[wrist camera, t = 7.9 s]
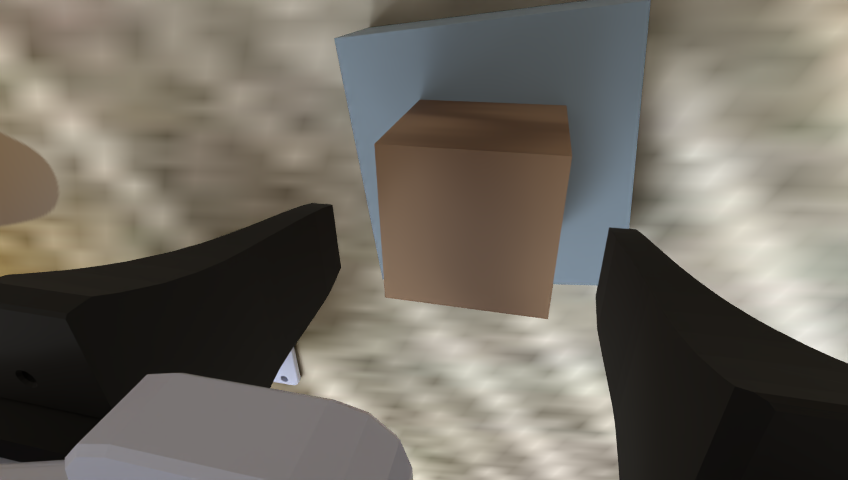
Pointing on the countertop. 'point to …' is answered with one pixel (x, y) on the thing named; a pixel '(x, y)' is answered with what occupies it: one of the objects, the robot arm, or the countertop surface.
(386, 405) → the countertop surface
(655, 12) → the countertop surface
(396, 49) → the slate block
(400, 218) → the walnut cube
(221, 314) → the robot arm
